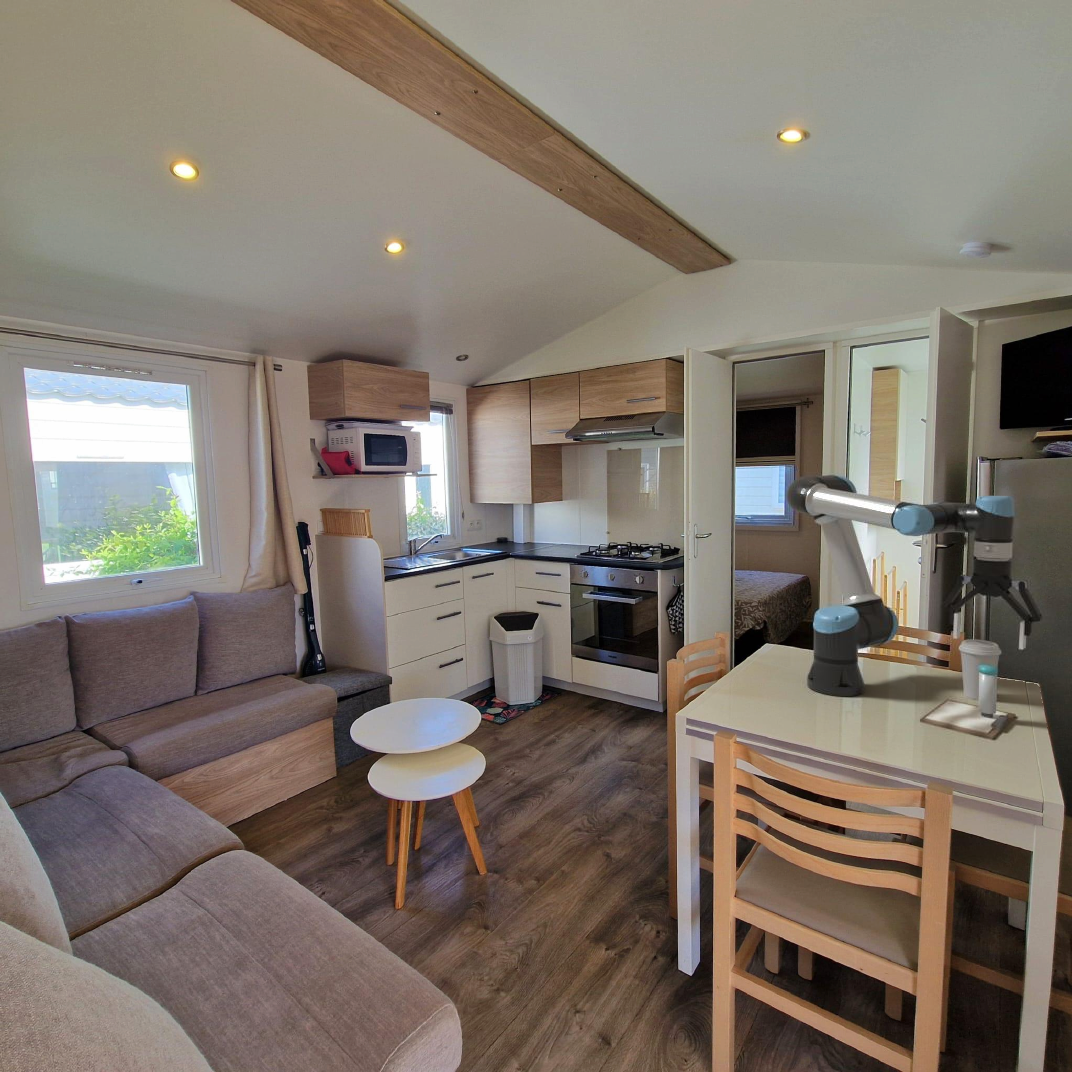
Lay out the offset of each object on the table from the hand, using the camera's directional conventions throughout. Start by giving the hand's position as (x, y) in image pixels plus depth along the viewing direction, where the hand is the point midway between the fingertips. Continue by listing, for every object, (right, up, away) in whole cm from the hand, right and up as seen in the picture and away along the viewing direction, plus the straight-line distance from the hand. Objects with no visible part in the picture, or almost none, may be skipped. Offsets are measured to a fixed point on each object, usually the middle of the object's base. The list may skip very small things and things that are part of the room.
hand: (988, 642), depth 153 cm
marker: (0, -19, +1) cm, 19 cm away
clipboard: (-4, -19, +1) cm, 20 cm away
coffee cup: (+9, -18, +16) cm, 26 cm away
